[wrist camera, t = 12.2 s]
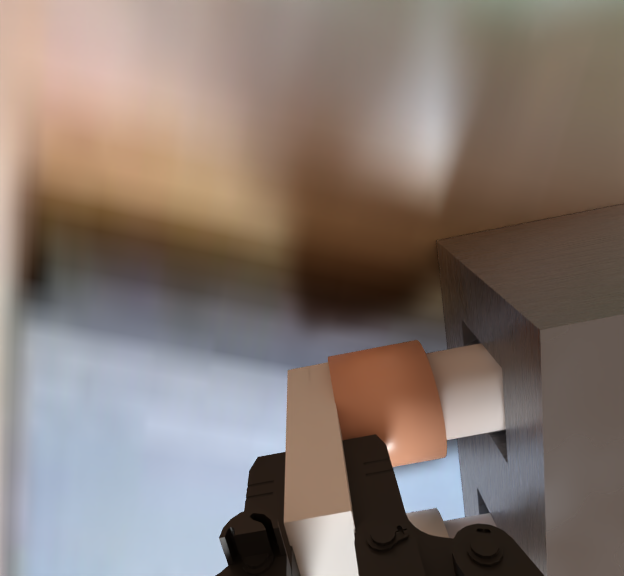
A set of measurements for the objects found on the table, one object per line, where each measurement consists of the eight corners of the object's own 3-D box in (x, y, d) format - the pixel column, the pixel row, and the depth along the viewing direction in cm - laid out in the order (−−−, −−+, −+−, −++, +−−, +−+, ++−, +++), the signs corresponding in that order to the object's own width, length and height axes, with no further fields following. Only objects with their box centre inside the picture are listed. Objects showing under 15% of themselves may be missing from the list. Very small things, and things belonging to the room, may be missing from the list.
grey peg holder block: (466, 526, 23) (551, 729, 15) (436, 240, 18) (540, 330, 10) (632, 497, 22) (802, 689, 15) (648, 198, 17) (915, 259, 10)
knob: (342, 425, 18) (354, 502, 14) (324, 337, 17) (333, 397, 13) (739, 352, 17) (853, 412, 14) (752, 256, 16) (882, 295, 13)
